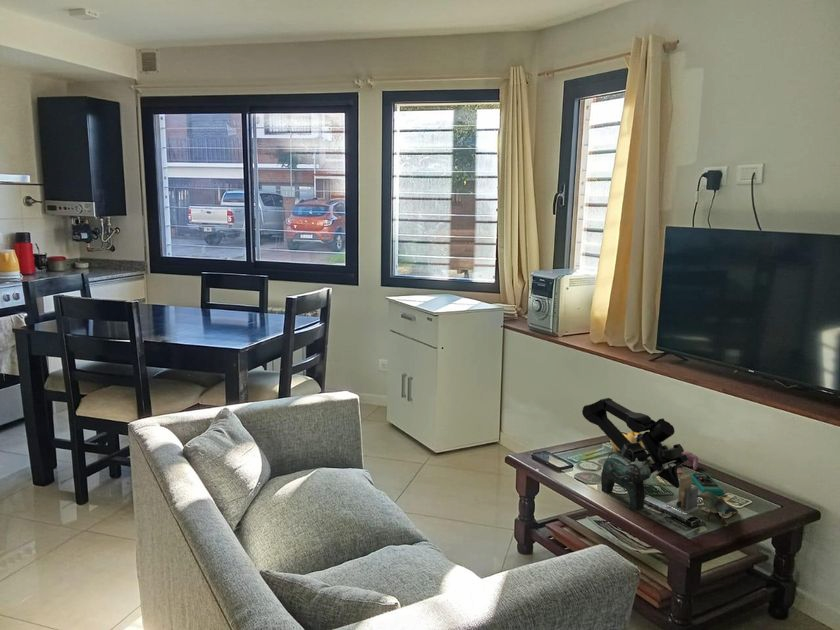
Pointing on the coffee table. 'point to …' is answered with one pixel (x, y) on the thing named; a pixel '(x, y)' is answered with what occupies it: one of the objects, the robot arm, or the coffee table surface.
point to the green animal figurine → (626, 478)
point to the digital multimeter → (706, 483)
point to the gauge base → (687, 501)
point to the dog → (631, 437)
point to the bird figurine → (716, 506)
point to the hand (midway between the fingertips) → (678, 487)
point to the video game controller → (691, 460)
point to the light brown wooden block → (684, 489)
